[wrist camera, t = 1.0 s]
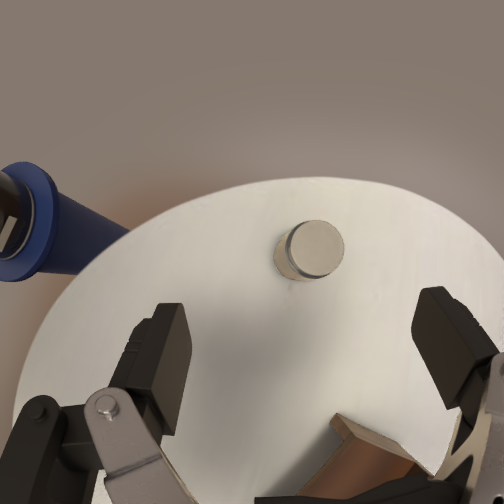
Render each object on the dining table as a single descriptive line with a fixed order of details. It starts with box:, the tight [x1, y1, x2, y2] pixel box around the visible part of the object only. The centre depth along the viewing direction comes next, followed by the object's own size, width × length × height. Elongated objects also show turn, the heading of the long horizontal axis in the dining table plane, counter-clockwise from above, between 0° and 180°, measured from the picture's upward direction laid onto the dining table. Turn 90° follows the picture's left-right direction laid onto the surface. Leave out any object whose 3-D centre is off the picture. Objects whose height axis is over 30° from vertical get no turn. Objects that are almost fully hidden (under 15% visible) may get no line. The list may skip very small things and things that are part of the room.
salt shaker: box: [274, 220, 344, 280], centre depth 26 cm, size 4×4×8 cm
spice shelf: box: [295, 413, 434, 499], centre depth 23 cm, size 10×16×9 cm, turn 146°
